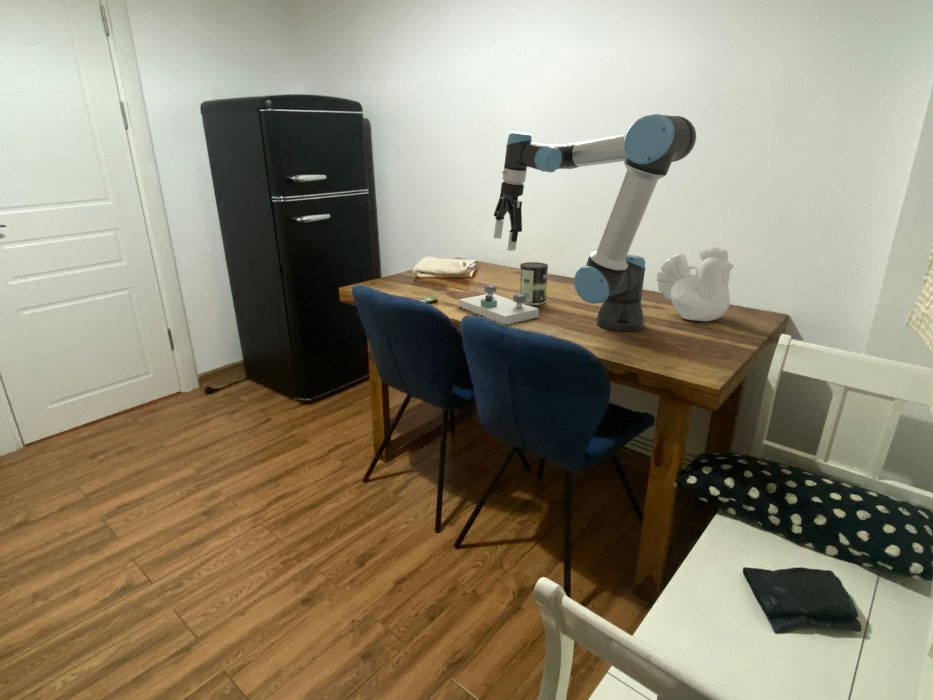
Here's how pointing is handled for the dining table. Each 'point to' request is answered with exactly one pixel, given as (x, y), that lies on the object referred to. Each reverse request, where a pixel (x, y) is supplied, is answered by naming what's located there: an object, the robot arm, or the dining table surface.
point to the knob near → (519, 300)
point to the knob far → (490, 289)
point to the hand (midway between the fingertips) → (504, 244)
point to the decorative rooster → (697, 284)
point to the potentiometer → (488, 302)
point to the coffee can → (533, 282)
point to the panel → (500, 309)
